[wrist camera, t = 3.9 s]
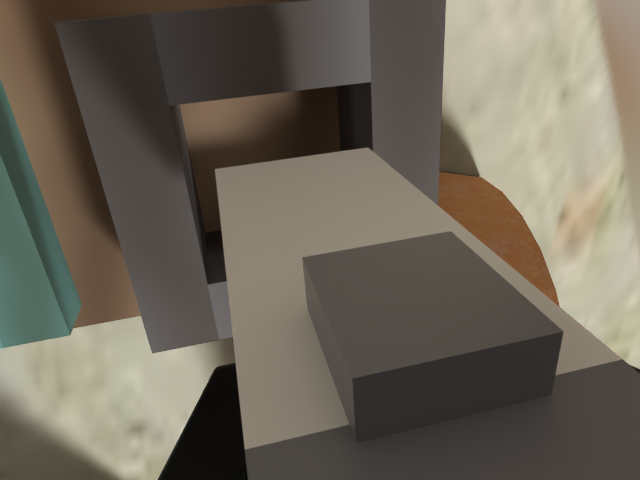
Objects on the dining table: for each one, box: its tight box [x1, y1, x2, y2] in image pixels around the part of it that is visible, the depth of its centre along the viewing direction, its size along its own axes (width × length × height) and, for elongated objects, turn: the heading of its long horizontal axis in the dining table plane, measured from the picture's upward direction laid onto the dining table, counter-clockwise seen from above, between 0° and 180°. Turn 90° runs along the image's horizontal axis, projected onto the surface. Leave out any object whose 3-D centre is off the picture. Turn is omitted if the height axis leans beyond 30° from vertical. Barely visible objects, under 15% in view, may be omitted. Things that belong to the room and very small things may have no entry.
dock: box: [0, 0, 446, 353], centre depth 16 cm, size 24×12×5 cm, turn 94°
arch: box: [438, 172, 559, 306], centre depth 20 cm, size 6×20×10 cm, turn 168°
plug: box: [215, 148, 640, 480], centre depth 8 cm, size 4×4×9 cm
